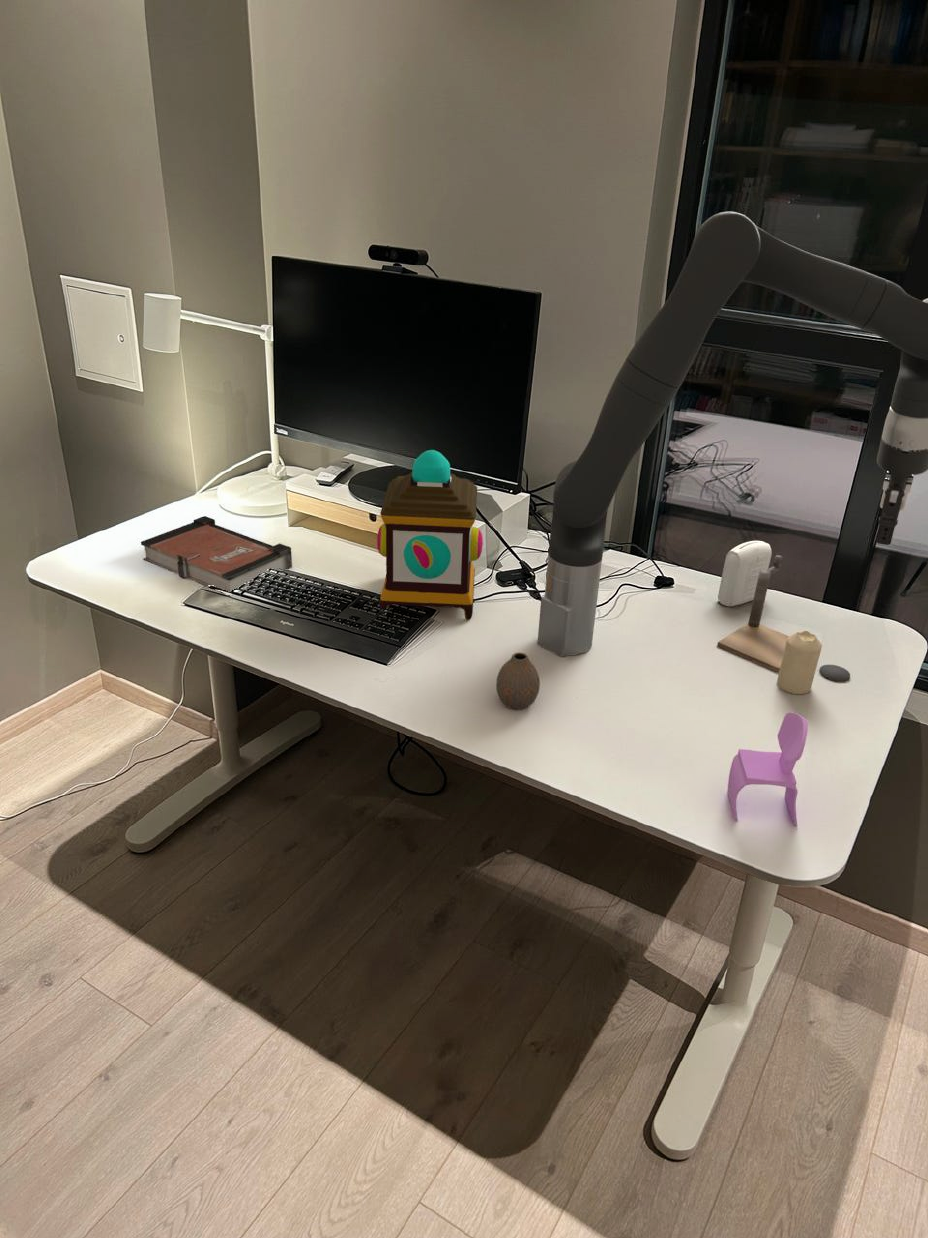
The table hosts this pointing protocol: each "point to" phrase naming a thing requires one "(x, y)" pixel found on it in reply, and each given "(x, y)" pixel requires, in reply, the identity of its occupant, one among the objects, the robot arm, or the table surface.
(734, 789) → the toy chair
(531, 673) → the vase
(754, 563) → the photo printer
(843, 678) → the pad
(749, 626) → the stand with wooden base
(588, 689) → the table surface
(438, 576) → the decorative lantern
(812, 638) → the candle
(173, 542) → the book
